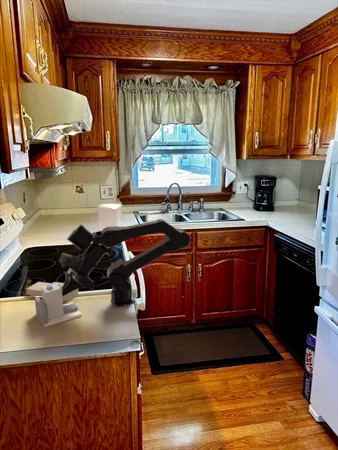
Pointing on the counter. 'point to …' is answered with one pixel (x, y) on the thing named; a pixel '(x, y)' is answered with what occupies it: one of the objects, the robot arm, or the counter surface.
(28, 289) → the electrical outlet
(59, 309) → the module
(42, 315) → the board
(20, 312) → the counter surface
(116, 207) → the pale rounded upright block
